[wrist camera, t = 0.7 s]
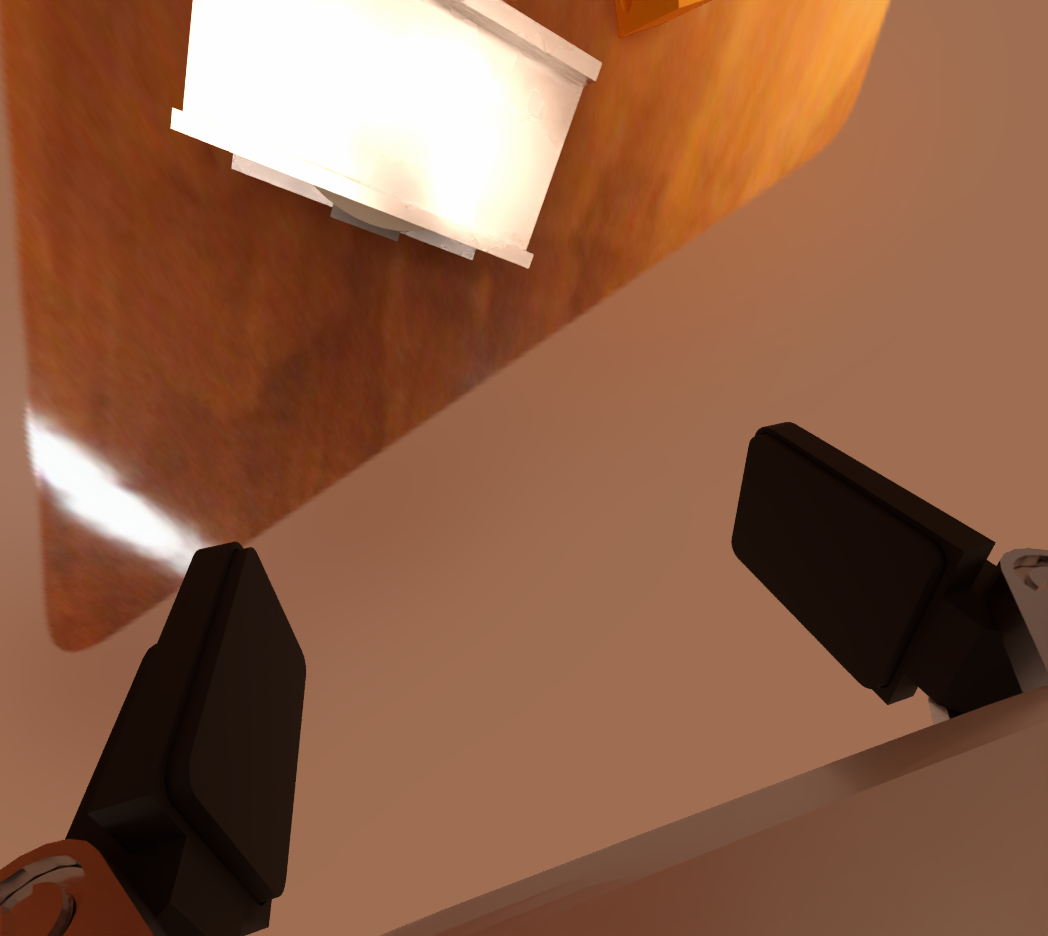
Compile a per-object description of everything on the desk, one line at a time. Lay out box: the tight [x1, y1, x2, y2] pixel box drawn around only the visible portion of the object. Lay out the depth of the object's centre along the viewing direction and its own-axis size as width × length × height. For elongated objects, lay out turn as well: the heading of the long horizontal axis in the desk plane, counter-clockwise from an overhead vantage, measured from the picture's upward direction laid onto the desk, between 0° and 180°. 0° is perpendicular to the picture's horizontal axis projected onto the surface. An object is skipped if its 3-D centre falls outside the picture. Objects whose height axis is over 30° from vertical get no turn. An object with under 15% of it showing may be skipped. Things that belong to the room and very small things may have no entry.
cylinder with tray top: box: [171, 0, 602, 269], centre depth 23 cm, size 10×13×12 cm
